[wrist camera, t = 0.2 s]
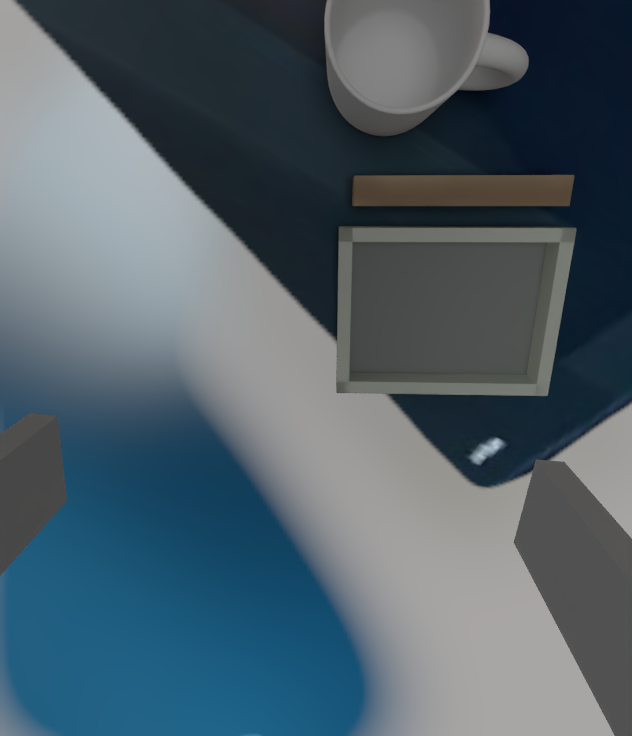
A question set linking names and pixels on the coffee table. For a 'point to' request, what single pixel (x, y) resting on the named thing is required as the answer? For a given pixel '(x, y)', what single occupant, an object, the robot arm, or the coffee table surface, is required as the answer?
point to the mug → (411, 58)
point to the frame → (450, 308)
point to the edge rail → (462, 190)
